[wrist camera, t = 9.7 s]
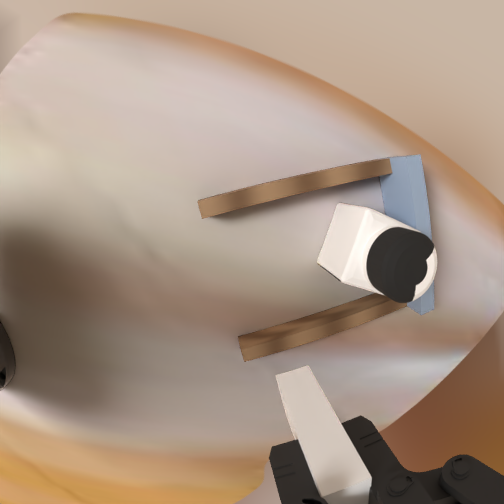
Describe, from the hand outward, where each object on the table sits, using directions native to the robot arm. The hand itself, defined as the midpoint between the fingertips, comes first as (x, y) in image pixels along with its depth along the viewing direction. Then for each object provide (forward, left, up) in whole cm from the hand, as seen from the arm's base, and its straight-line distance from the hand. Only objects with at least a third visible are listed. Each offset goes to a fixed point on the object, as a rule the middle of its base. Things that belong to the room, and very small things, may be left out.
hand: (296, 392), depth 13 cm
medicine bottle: (+13, 0, -21) cm, 24 cm away
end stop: (+18, 0, -20) cm, 27 cm away
